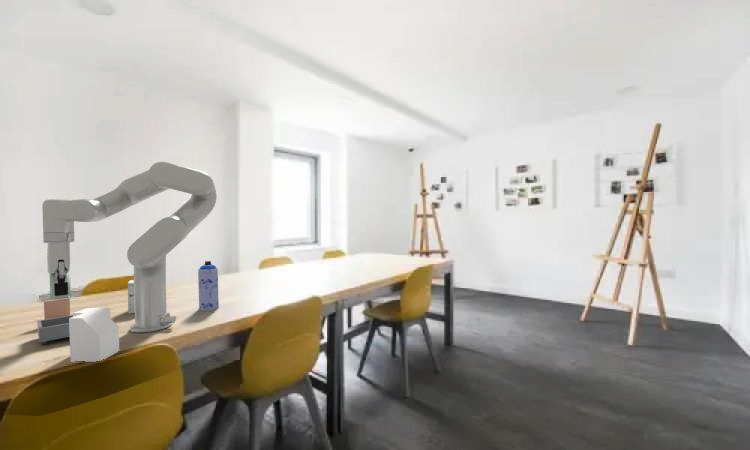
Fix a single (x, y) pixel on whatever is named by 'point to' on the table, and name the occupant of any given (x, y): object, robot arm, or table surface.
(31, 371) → the table surface
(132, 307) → the supplement box
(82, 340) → the white angular block
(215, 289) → the aerosol can
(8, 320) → the table surface
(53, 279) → the part
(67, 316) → the grey desk organizer
